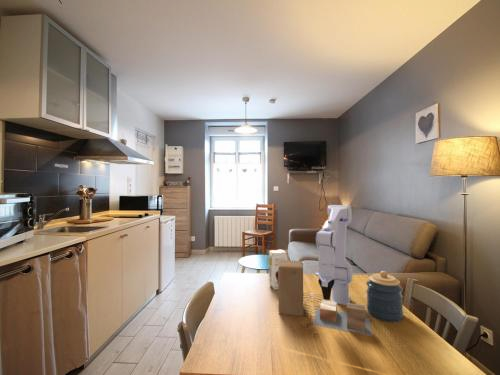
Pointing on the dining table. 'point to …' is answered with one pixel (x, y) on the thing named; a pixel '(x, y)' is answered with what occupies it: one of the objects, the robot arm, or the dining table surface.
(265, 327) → the dining table surface
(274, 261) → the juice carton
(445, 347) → the dining table surface
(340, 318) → the felt mat
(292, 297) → the wooden block
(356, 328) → the walnut block
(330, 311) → the ash block
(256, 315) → the dining table surface
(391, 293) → the canister
